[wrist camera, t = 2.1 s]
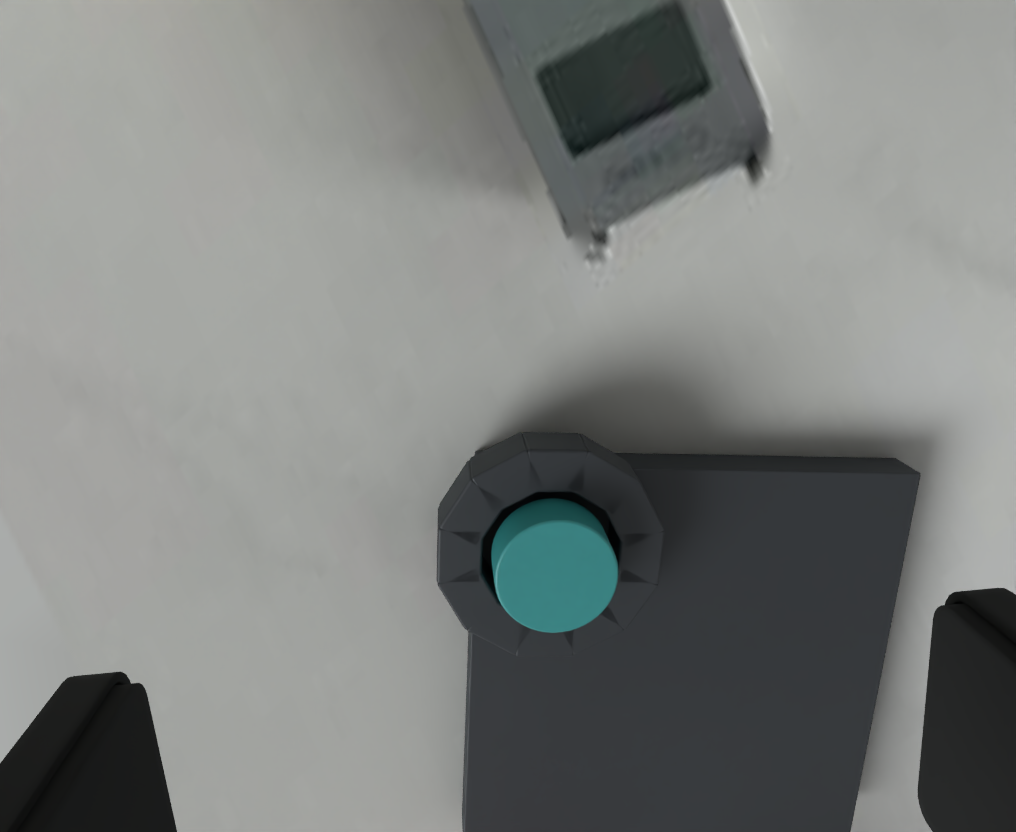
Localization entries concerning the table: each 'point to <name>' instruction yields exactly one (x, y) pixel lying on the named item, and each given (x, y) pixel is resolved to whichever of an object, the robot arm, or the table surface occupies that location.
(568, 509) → the button
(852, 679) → the scale
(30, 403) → the table surface
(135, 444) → the table surface
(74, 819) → the robot arm
